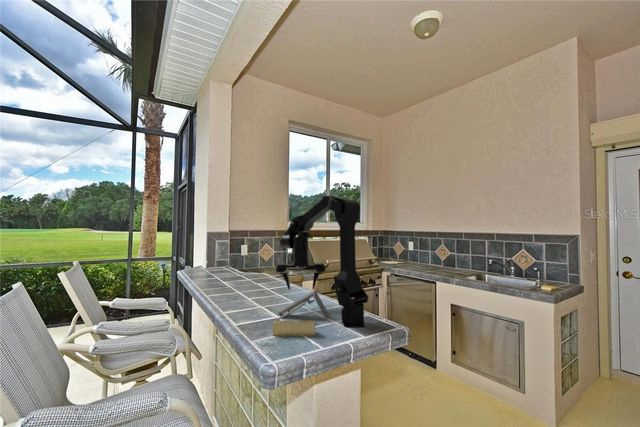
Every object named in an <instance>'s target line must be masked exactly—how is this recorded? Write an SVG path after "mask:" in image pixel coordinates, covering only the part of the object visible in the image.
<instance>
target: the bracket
mask: <svg viewBox="0 0 640 427" xmlns="http://www.w3.org/2000/svg"><path fill="white" fill-rule="evenodd" d="M311 298H313V300H310V299H311ZM314 302H316V304H317V306H318V307H319V309H320V311H321V313H322V315H323V316H324V318H325V319H330V313H329V311H328V310H327V309H326V307H325V304H324V303H323V301H322V299H321V297H320V295H319V294H318V293H317V290H315V289H314V290H312V291H311V292H309V293H307V294H305V295H303V296H302V297H300V298H299V299H297V300H295V301H293V302H291V303H288V305H286V306H284V307H282V308H281V309H280V310H279V311H278V312H277V313H278V317H277V318H276V320H275V321H281V319H283V318H284V317H287V316H289V315H291V314H292V313H294V312H295V311H297V310H299V309H300V308H302V307H303V306H305V305H306V303H307V304H309V305H310V304H312V303H314Z"/></svg>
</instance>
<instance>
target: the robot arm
mask: <svg viewBox="0 0 640 427" xmlns="http://www.w3.org/2000/svg"><path fill="white" fill-rule="evenodd" d="M329 211H332V212H334V213H333V214H334V218H335V220H336V222H337V224H338V226H339V247H340V248H339V253H340V254H339V258H340V260H339V263H340V271H339V272H338V274H336V275H334V276H333V281H334V282H333V284H334V285H333V289H334V290H335V296H336V298H337V302H338V306H341V309H340V311H341V318H340V319H341V323H342V324H343V327H344V328H345V327H348V328H351V327H356V328H357V327H360V328H361V327H362V328H363V327H366V324H365V310H364V309H365V306H364V304H367V303H368V301H369V295H368V294H367V293H366V291H365V290H364V288H363V286H362V280H361V277H360V276H359V274H358V272H357V269H356V267H357V266H356V225H357V222H358V221H359V218H360V211H361V205H360V203H359V202H358V201H357V200H355V199H347V198H346V199H345V198H340V197H337V196H335V195H324V196H322V198H321V199H320V200H319V201H318V202H317V203H315V204H314V205H313V206H312V207H310V209H308V210H307V211H306V212H305V213H303V214H299V215H297V216H295V217H292V219H291V221H290V224H289V226H288V228H287V229H286V231H285V232H284V233H283V234H284V235H282V236H281V237H280V241H279V242H280V243H279V244H280V246H281V247H282V248H283V249H291V250H292V249H293V254H291V260H290V261H291V264H289V263H286V262H285V263H284V262H282V263H281V262H279V263H278V264H276V267H275V268H276V270H275V271H276V273H279V275H282V277H283V279H284V281H285V284H286V286H287V289H288V291H291V281H290V280H291V279H290V271H305V270H306V271H314V272H313V279H312V291H314V290H315V286H316V282H317V280H318V278H319V276H320V275H322V274H323V273H325V272H326V264H325V263H324V262H314V264H310V258H309V239H311V238H312V235H311V234H310V233H309V231H311V229H312V228H313V227H314V224H315V222H317V221H318V220H319V219H320V218H321V217H323V216H324V215H326V213H328V212H329Z"/></svg>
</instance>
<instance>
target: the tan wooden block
mask: <svg viewBox="0 0 640 427" xmlns="http://www.w3.org/2000/svg"><path fill="white" fill-rule="evenodd" d="M272 336H273V337H278V336H282V337H285V336H287V337H288V336H290V337H292V336H295V337H296V336H297V337H298V336H299V337H300V336H303V337H304V336H316V320H278V321H276V320H273V322H272Z"/></svg>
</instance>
